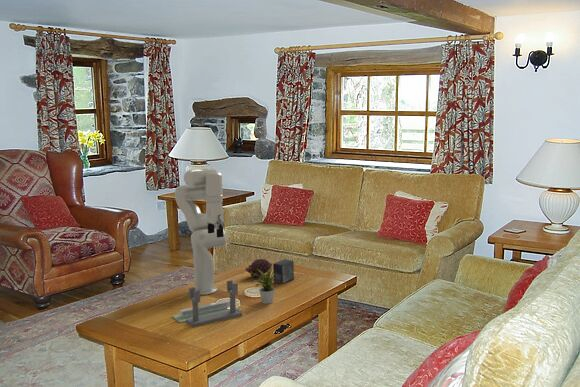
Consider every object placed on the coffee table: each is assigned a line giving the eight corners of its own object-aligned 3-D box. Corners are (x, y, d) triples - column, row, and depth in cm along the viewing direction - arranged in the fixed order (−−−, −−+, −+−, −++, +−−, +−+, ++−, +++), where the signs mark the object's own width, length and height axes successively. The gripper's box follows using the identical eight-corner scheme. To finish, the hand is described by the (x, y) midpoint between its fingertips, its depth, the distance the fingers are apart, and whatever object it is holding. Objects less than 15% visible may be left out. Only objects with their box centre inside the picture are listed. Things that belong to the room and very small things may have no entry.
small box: (284, 277, 326) (284, 258, 325) (294, 279, 323) (294, 260, 321) (272, 282, 318) (272, 263, 316) (282, 284, 314) (282, 265, 312)
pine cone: (266, 271, 337) (266, 254, 335) (278, 275, 330) (278, 257, 328) (241, 278, 325) (241, 260, 323) (253, 282, 318) (253, 264, 316)
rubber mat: (172, 316, 271) (172, 315, 271) (230, 304, 286) (230, 302, 286) (180, 323, 263) (179, 321, 263) (239, 309, 278) (239, 308, 278)
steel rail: (180, 316, 270) (179, 309, 269) (228, 305, 282) (228, 299, 282) (182, 318, 267) (182, 311, 267) (231, 307, 280) (231, 301, 279)
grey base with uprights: (186, 322, 263) (185, 288, 261) (236, 311, 276) (235, 279, 273) (192, 327, 258) (190, 292, 256) (242, 315, 271) (241, 282, 268)
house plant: (256, 295, 298) (255, 263, 295) (284, 296, 295) (283, 264, 293) (248, 305, 284) (247, 271, 282) (277, 306, 282) (276, 273, 279)
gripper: (199, 197, 284) (200, 232, 287) (214, 202, 270) (216, 239, 273) (213, 195, 288) (215, 230, 291) (230, 200, 274) (231, 237, 276)
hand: (215, 235), depth 282 cm, fingers open, 9 cm apart
